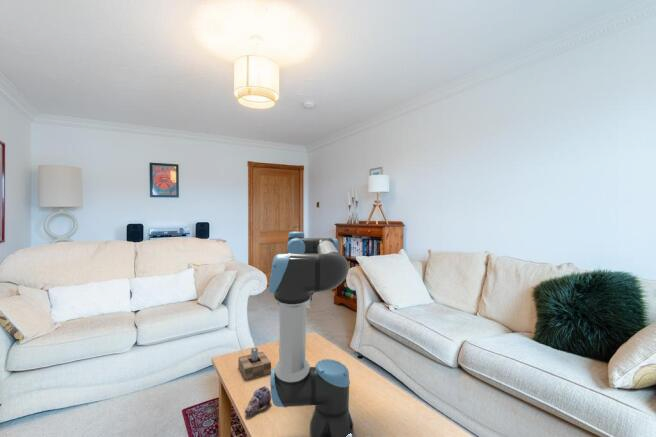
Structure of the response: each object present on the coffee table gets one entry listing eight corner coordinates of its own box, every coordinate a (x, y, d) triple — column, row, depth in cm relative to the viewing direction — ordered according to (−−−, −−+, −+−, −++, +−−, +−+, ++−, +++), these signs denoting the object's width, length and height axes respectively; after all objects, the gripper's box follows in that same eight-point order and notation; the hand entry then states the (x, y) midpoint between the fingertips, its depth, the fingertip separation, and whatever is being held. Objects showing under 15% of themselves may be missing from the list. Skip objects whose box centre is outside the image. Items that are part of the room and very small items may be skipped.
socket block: (270, 372, 142) (271, 362, 142) (245, 380, 136) (245, 369, 136) (262, 361, 152) (262, 351, 152) (238, 367, 146) (238, 357, 146)
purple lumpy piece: (251, 420, 110) (251, 404, 110) (237, 412, 115) (237, 396, 115) (275, 403, 120) (275, 388, 120) (261, 396, 125) (261, 381, 124)
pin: (258, 370, 143) (258, 350, 143) (252, 372, 142) (252, 351, 142) (256, 367, 146) (256, 347, 146) (250, 369, 145) (250, 348, 144)
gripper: (315, 261, 152) (314, 303, 152) (267, 265, 138) (267, 312, 139) (323, 263, 145) (322, 308, 146) (274, 268, 132) (273, 317, 132)
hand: (295, 310), depth 142 cm, fingers open, 13 cm apart
